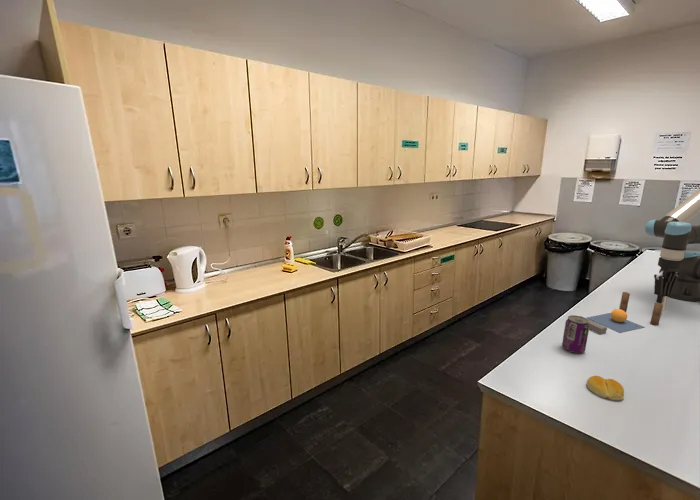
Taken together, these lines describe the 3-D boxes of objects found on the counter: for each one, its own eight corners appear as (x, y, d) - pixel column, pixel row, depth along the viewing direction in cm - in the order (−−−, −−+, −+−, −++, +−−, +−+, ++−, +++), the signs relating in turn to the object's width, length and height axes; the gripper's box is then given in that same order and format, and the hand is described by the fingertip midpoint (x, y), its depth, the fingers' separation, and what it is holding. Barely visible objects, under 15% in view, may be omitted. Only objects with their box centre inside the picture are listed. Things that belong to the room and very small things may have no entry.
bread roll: (585, 379, 106) (587, 368, 105) (621, 389, 101) (624, 377, 100) (586, 394, 99) (588, 382, 98) (625, 405, 94) (627, 393, 93)
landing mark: (609, 313, 150) (609, 312, 150) (644, 327, 137) (644, 326, 137) (586, 318, 146) (586, 317, 146) (619, 332, 133) (619, 332, 133)
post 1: (621, 310, 153) (625, 291, 151) (627, 312, 151) (631, 293, 148) (617, 311, 152) (621, 292, 150) (623, 313, 150) (627, 294, 148)
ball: (606, 312, 143) (609, 321, 145) (619, 317, 138) (622, 327, 140) (615, 304, 143) (618, 313, 145) (629, 309, 138) (631, 319, 140)
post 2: (652, 322, 141) (657, 302, 139) (660, 324, 139) (664, 304, 137) (648, 323, 141) (653, 303, 138) (655, 325, 138) (660, 305, 136)
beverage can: (588, 355, 118) (594, 324, 115) (566, 353, 119) (571, 322, 116) (579, 345, 125) (584, 315, 122) (558, 343, 126) (563, 314, 123)
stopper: (579, 321, 143) (580, 316, 142) (605, 333, 133) (606, 327, 132) (574, 322, 142) (575, 317, 141) (600, 334, 132) (601, 328, 131)
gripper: (671, 254, 148) (659, 304, 154) (650, 257, 144) (639, 308, 150) (692, 259, 141) (679, 310, 147) (671, 262, 138) (658, 315, 143)
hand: (659, 309), depth 149 cm, fingers closed
